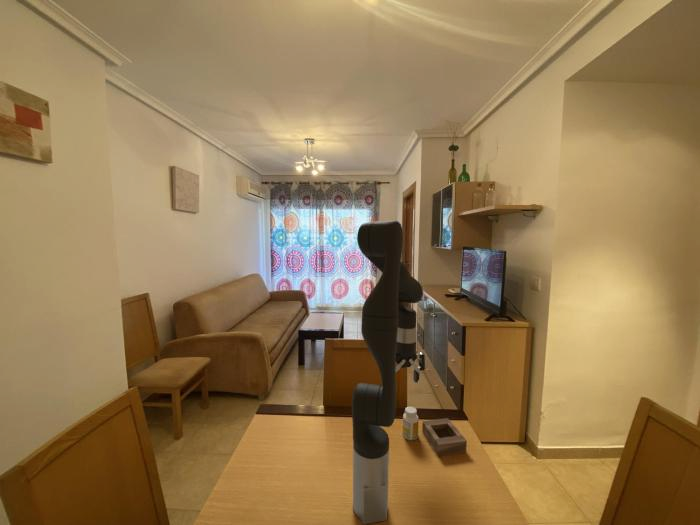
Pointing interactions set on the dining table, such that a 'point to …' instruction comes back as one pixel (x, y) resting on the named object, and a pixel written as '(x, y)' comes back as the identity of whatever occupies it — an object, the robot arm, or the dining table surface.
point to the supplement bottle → (410, 423)
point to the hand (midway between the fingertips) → (404, 382)
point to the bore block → (444, 437)
